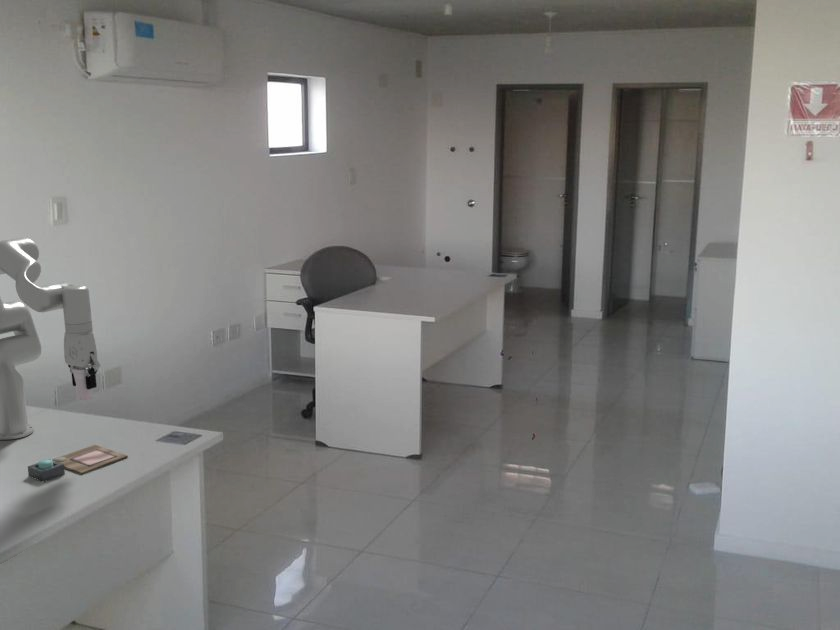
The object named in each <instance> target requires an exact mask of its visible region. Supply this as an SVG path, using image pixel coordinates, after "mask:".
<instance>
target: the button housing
mask: <svg viewBox="0 0 840 630" xmlns="http://www.w3.org/2000/svg"><path fill="white" fill-rule="evenodd" d="M49 460H52V459H50V458H49ZM65 471H66V470H65V468H64V464H62V463H59V462H56V461H54V460H53V466H52V467H49V468H47V469H44V470H43V469H40V468H38V462H37V463H34V464H31V465H28V466H27V473H28V477H29V476H30V478H32V477H33V478H32V479H34V478H36V479H35V480H37V479H38V480H37V481H39V480H40V482H42V481H44V482H46V480H47V481H50V480H52V479H55V478H58V477H60V476H63V475H66V474H65V473H66V472H65Z"/></svg>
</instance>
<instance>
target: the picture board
mask: <svg viewBox="0 0 840 630" xmlns="http://www.w3.org/2000/svg"><path fill="white" fill-rule="evenodd" d="M127 457H128V458H129V456H128V455H127V454H124V453H121V452H117V451H115V450H112V449H109V448H106V447H103V446H99V445H97V444H93V445H90V446H88V447H85V448H82V449H79V450H76V451H73V452H71V453H67V454H65V455H62V456H61V455H60V456H58V457H56V458H52V459H51V460H54V461H56V462H59V463H62V464H64V470H68V471H70V472H73V473H76V474H78V475H84V474H85V475H86V474H87V473H90V472H92V471H95V470H98V469H101V468H103V467H106V466H108V465H111V463H112V464H115V463H117V462H120V461H122V460H124V459H128V458H127Z"/></svg>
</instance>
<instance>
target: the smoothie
mask: <svg viewBox="0 0 840 630" xmlns="http://www.w3.org/2000/svg"><path fill="white" fill-rule="evenodd" d="M88 369H89V371H90V369H91V367H89V368H88ZM72 372H73V374H74V378H75V382H76V386H75V387H76V391H77V395H78V399H79V400H81V401H89V400H92V399H93V396H94V395H93V393H94V392H93V391H94V388H92V389H89V390H88V389H86V379H85V376H87V375H86V372H85V369H84V368H80V367H76V366H75V367H73V368H72Z"/></svg>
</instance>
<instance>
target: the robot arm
mask: <svg viewBox="0 0 840 630" xmlns="http://www.w3.org/2000/svg"><path fill="white" fill-rule="evenodd" d="M39 255H40V251H39V248H38V245H37V243H35V241H33V240H31V239H30V238H27V237H21V238H20V237H19V238H14V239H13V238H12V239H6V240H0V275H5V274H6V275H7V276H9V277H10V278H11V279H13V280H14V281H15V290H16V293H17V296H18V298H19V299H20V301H22V302H20V301H16V300H14V301H8V302H3V300H2V298H1V297H0V335H3V334H9V333H13V334H14V335H11V336H5V337H2V338H0V440H1V441H4V440H5V441H6V440H7V441H8V440H15V439H21V438H24V437H27V436H29V435H31V434H33V433H34V431H35V429H34V428H35V427H34V426H33V425H32V424H29V421H28V413H27V412H28V411H27V404H26V403H27V402H26V395H25V394H26V392H25V384H24V377H23V376H22V375H21V373H19V371H18V370H17V369H16V367H18V366H20V365H24V364H27V363H31V362H35V361H36V360H38V359H39V358H40V357H41V354H42V346H41V341H40V337H39V334H38V332H37V328H36V326H35V323H34V320H33V317H32V314H31V311H30V310H29V308H30V309H31V310H34V311H35V312H38V313H47V312H48V313H49V312H52V311H56V310H63V320H64V329H65V330H64V331H65V332H64V338H63V352H64V355H63V356H64V361H65V362H64V363H65V364H67V366H68V369H69V373H70V375H71V382H72V386H73V387H76V382H75V378H74V374H73V372H72V368H73V367H75V366H76V367H80V368H84V369H85V372H86V375H87V376H85V379H86V389H88V390H89V389H92V388H93V389H95V388H97V374H98V373H97V372H98V370H99V369H100V367H101V364H100V361H98V350H97V343H96V339H95V335H94V333H93V332H94V331H93V330H94V329H93V320H92V310H91V309H92V308H91V299H90V291H89V288H88V287H87V286H85V285H80V284H79V285H77V284H74V283H71V282H69V281H67V282H66V281H65V282H58V283H52V284H48V285H43V286H37V285H36V284H34V283H36V281H37V280H38V279H39V277H40V276H41V272H42V266H41V264H40V263H39V262H38V259H39V257H40V256H39ZM28 307H29V308H28ZM89 367H91V369H90V371H89V369H88V368H89Z"/></svg>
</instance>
